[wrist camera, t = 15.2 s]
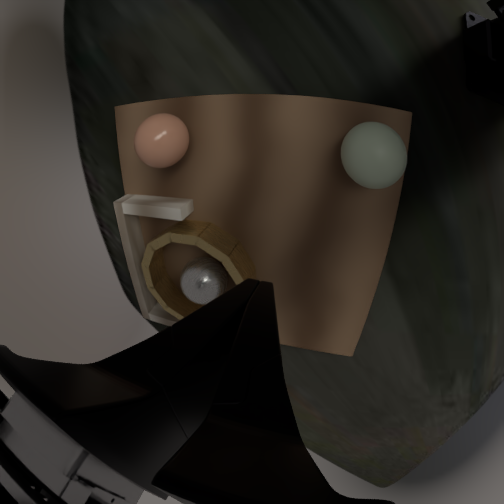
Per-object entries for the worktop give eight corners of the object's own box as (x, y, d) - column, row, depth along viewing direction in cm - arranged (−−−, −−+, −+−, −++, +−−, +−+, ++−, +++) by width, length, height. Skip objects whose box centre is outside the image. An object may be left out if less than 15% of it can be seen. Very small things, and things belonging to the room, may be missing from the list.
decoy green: (403, 125, 15) (418, 132, 12) (395, 183, 17) (406, 204, 14) (343, 115, 16) (343, 119, 13) (338, 173, 18) (336, 192, 15)
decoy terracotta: (198, 109, 18) (167, 114, 15) (200, 161, 20) (172, 176, 17) (153, 112, 19) (119, 119, 16) (157, 160, 21) (125, 174, 18)
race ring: (255, 227, 22) (245, 243, 20) (256, 321, 27) (248, 339, 25) (148, 215, 25) (132, 228, 23) (167, 301, 30) (155, 315, 28)
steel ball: (188, 280, 20) (169, 256, 23) (194, 320, 22) (176, 294, 25) (235, 264, 22) (212, 243, 25) (237, 303, 24) (215, 280, 27)
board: (408, 111, 15) (419, 114, 13) (352, 347, 27) (350, 372, 24) (123, 105, 21) (98, 110, 18) (156, 304, 33) (142, 321, 30)
